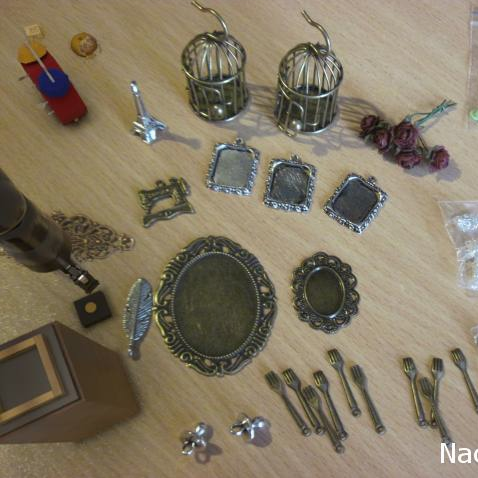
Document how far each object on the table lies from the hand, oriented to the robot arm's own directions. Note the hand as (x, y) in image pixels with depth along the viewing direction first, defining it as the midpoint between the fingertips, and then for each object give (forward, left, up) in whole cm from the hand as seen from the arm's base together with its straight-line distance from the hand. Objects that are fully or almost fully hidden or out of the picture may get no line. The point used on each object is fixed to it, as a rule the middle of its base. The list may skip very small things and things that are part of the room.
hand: (72, 271), depth 95 cm
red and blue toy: (+7, +44, -18) cm, 48 cm away
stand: (-7, -19, -18) cm, 27 cm away
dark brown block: (-2, -3, -18) cm, 18 cm away
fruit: (+18, +56, -18) cm, 62 cm away
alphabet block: (+8, +65, -18) cm, 68 cm away
